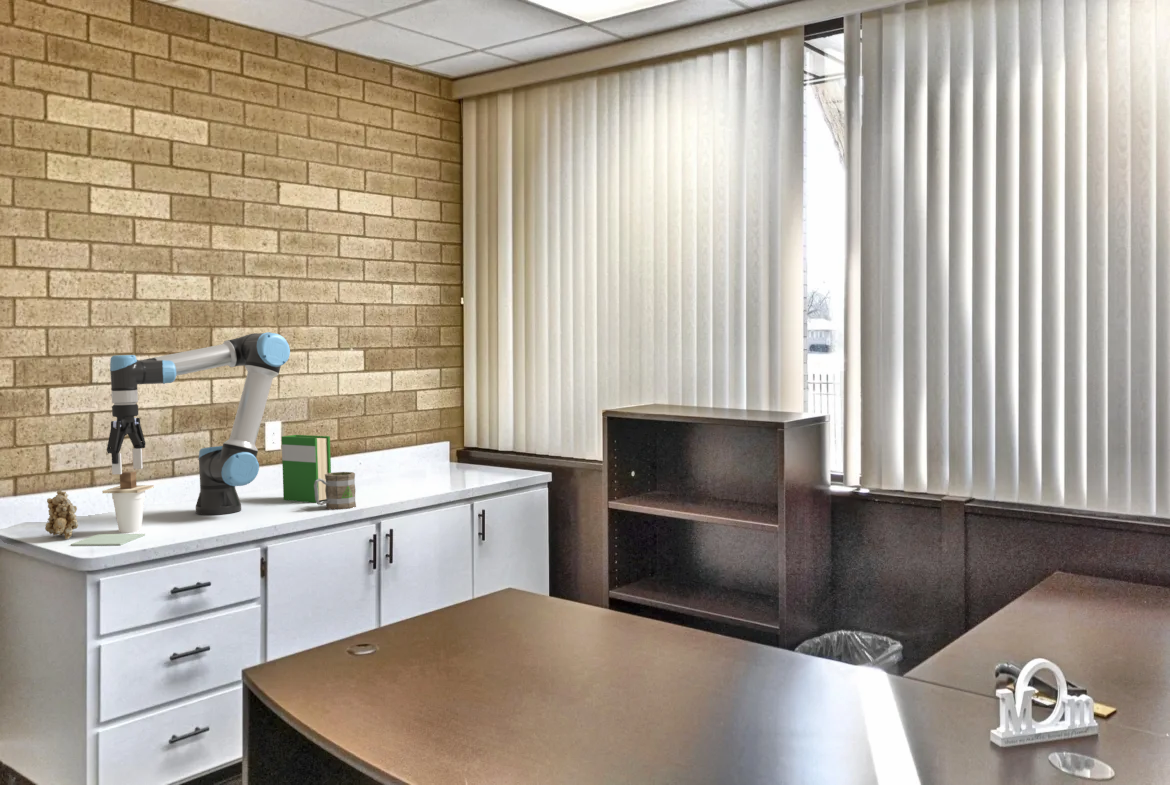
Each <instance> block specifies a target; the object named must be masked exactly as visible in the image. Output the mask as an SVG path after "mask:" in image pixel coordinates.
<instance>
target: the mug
mask: <svg viewBox="0 0 1170 785" xmlns="http://www.w3.org/2000/svg"><path fill="white" fill-rule="evenodd" d="M355 477H356V473H355V472H353V471H352V472H351V471H338V472H337V471H335V472H331V473H328V474H325V479H326V482H325V481H324V480H323V479H320V478H319V479H317V480H316V481H315V483H314V490H315V500H316V502H317V503H316V505H319V506H323V505H325V509H327V510H335V511H336V510H337V511H338V510H347V509H348V510H350V509H354V508H357V505H356V504H357V502H356V483H355V481H356V479H355ZM319 481H321V482H322V483H323V484H325V485H326V488H325V492H326V500H323V501H322V502H320V500H319V497H318V488H317V485H318V482H319ZM353 507H354V508H353Z"/></svg>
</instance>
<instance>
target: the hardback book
mask: <svg viewBox="0 0 1170 785" xmlns="http://www.w3.org/2000/svg"><path fill="white" fill-rule="evenodd" d="M281 456H282V457H281V462H282V464H281V465H282V489H283V490H282V491H283V501H291V502H302V503H313V504H317V502H316V500H315V490H314V483H315V481H316V480H317V479H319V478H320V479H323V480H324V481H325V482H326V479H325V474H328V473H332V464H331V463H332V460H331V459H332V458H331V457H332V456H331V436H330V435H329V436H328V435H308V434H292V435H283V436H281ZM317 488H318V497H319V501H326V492H325V488H326V485H325V484H323V483H322V482H321V481H319V482H318V485H317Z"/></svg>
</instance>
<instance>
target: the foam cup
mask: <svg viewBox="0 0 1170 785" xmlns="http://www.w3.org/2000/svg"><path fill="white" fill-rule="evenodd" d="M145 497H146V490H145V491H142V492H139V493H111V498H112V501H113V505H114V506H113V507H114V513H115V517H116V522H117V527H118V532H119V534H133V533H137V532H140V531H142V527H143V517H144V505H145Z"/></svg>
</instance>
